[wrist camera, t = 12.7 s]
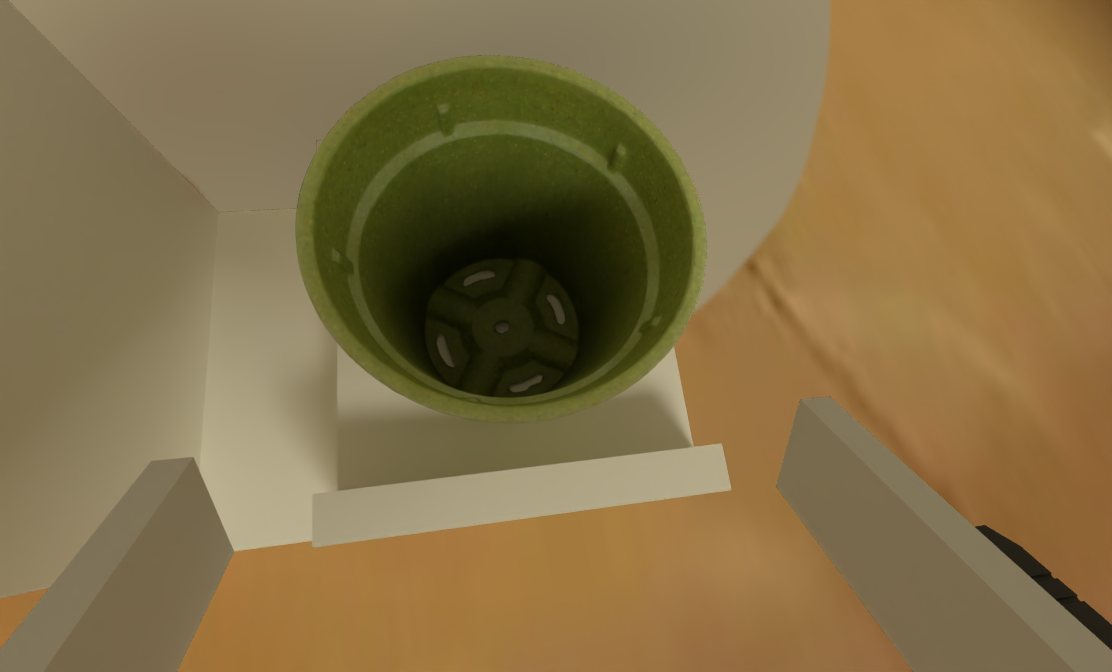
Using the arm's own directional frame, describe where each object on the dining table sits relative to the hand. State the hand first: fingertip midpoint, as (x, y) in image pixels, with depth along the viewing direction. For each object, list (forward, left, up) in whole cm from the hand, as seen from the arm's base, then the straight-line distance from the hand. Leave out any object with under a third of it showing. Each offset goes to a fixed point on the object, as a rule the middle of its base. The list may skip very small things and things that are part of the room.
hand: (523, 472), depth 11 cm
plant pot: (-3, -5, -7) cm, 9 cm away
